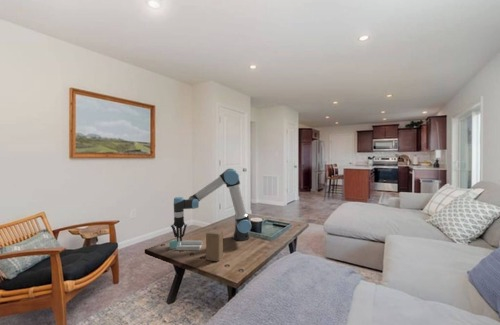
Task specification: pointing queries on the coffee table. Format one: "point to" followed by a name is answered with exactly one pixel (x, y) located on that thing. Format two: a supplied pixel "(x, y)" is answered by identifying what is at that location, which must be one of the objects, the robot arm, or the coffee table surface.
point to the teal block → (173, 244)
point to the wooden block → (214, 244)
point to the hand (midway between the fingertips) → (179, 245)
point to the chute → (190, 245)
